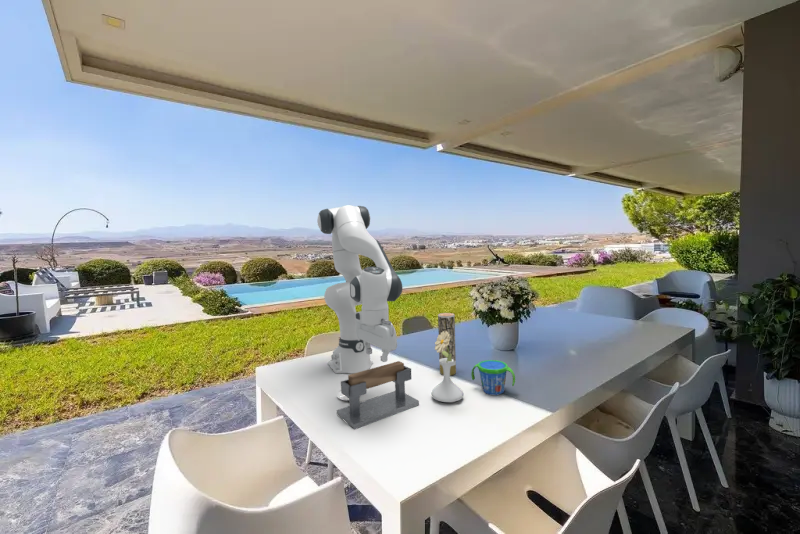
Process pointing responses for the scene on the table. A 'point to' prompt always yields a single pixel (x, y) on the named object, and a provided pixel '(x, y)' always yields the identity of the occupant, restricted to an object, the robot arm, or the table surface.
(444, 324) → the grey wooden cylinder
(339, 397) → the pale veined leaf
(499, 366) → the snack cup
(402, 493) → the table surface
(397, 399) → the bracket stand
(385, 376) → the walnut rail
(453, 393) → the flower in vase
